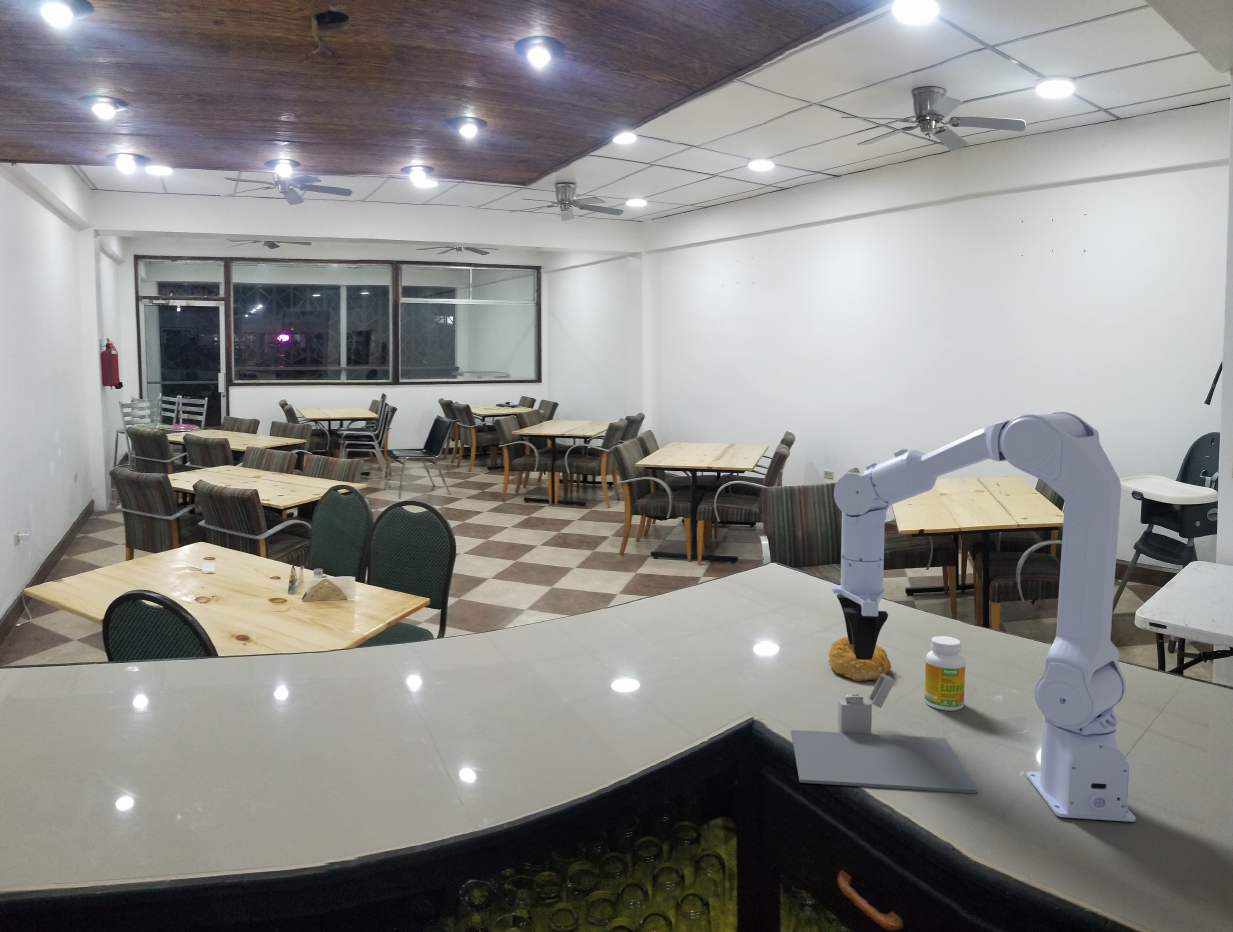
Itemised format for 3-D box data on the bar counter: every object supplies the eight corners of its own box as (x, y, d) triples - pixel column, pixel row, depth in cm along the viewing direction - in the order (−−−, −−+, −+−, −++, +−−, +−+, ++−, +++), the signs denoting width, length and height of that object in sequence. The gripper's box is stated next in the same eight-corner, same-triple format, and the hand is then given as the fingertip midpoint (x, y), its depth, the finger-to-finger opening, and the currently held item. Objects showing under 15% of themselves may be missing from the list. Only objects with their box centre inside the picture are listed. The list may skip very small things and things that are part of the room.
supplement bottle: (940, 713, 112) (942, 647, 111) (916, 699, 118) (918, 636, 117) (972, 708, 114) (974, 644, 113) (947, 694, 119) (949, 632, 118)
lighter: (841, 735, 106) (842, 678, 105) (837, 729, 108) (838, 673, 107) (893, 734, 106) (894, 677, 105) (888, 728, 108) (890, 672, 107)
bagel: (829, 680, 125) (830, 651, 125) (827, 658, 136) (828, 631, 136) (894, 686, 123) (895, 657, 123) (887, 663, 134) (888, 636, 133)
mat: (976, 793, 91) (976, 789, 91) (799, 782, 94) (799, 779, 93) (945, 740, 104) (945, 737, 104) (791, 732, 107) (791, 729, 107)
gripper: (826, 546, 118) (825, 634, 119) (839, 568, 103) (838, 668, 105) (875, 546, 117) (873, 635, 118) (895, 569, 102) (892, 670, 104)
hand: (860, 651), depth 111 cm, fingers open, 5 cm apart
